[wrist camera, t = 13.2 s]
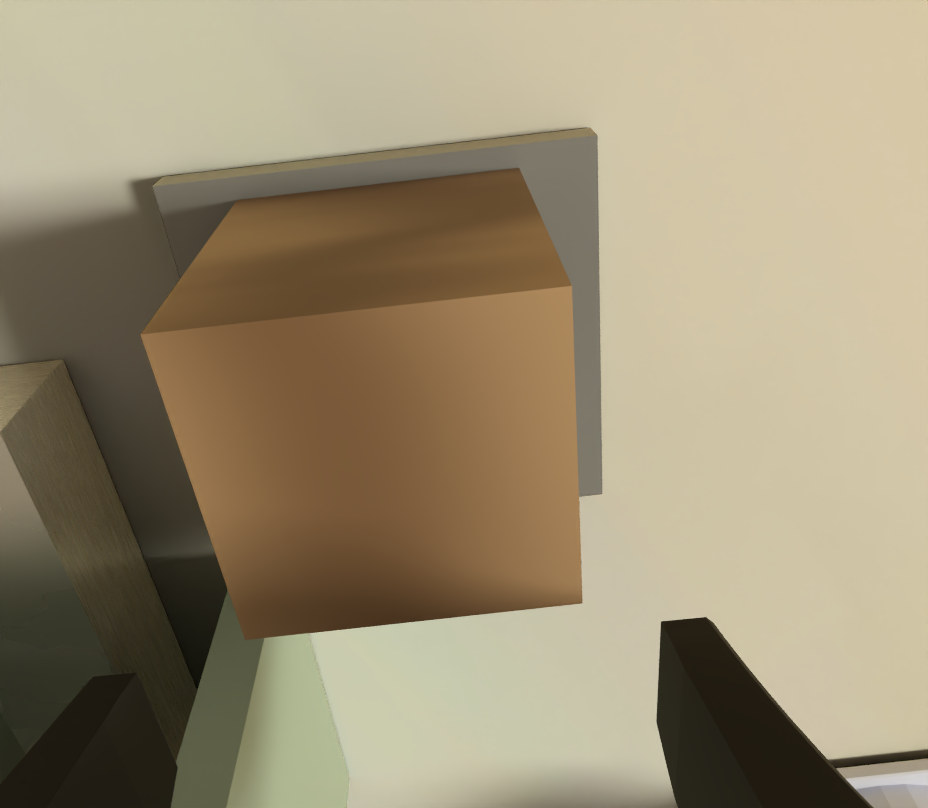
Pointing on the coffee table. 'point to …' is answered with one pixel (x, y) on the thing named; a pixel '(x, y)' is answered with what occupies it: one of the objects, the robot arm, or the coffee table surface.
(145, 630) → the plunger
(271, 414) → the walnut block
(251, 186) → the slate coaster
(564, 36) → the coffee table surface
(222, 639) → the sleeve
